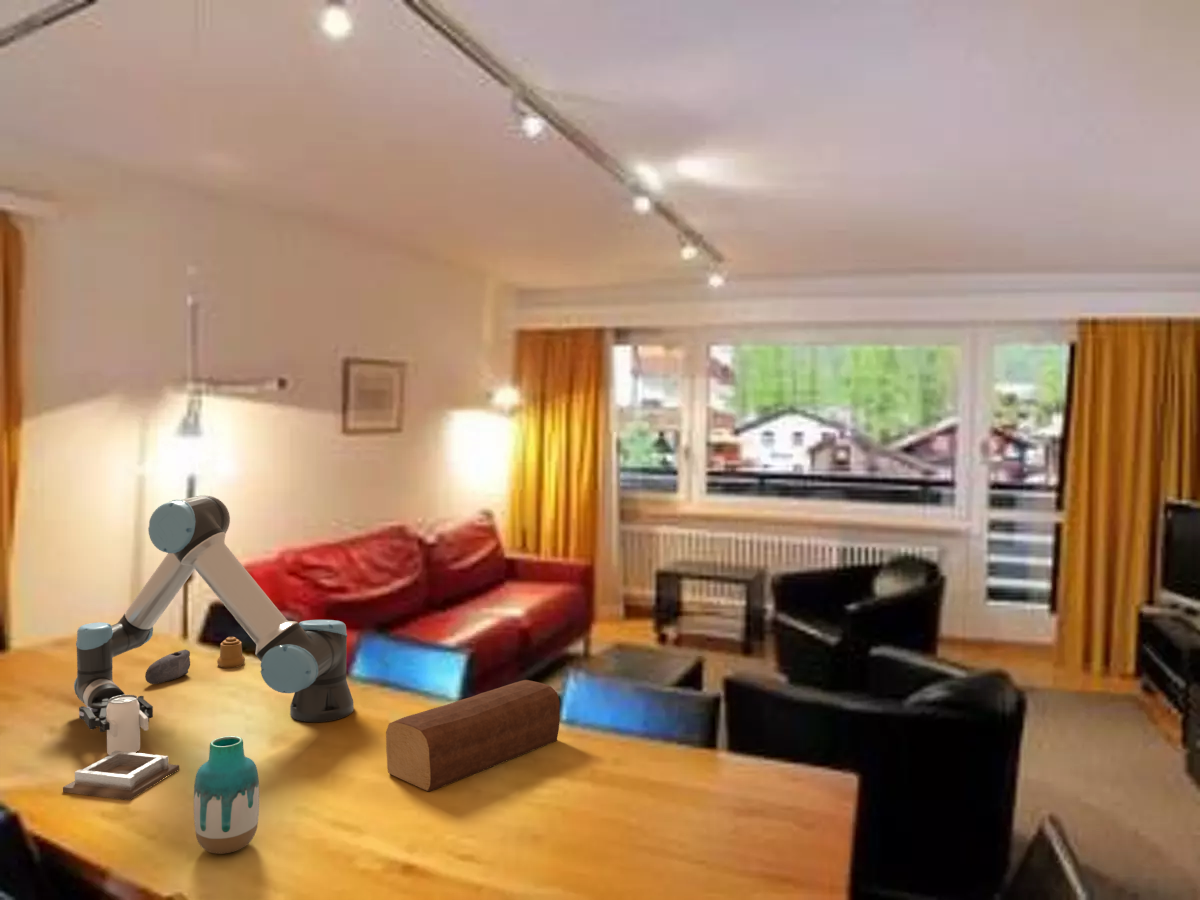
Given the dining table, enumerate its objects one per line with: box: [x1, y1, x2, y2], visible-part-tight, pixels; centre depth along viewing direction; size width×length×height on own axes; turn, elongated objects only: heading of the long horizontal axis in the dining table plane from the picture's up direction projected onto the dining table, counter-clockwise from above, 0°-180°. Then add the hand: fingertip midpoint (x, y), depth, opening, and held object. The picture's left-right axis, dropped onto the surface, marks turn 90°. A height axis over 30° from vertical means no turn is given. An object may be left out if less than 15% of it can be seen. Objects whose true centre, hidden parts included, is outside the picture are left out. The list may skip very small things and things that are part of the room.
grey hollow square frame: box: [74, 751, 169, 791], centre depth 189 cm, size 13×11×2 cm
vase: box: [193, 735, 260, 855], centre depth 161 cm, size 11×11×19 cm
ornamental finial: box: [216, 636, 246, 669], centre depth 269 cm, size 8×8×8 cm
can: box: [106, 694, 141, 756], centre depth 203 cm, size 6×6×12 cm
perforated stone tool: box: [145, 649, 191, 685], centre depth 254 cm, size 15×5×7 cm, turn 157°
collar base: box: [62, 763, 180, 801], centre depth 189 cm, size 15×15×1 cm
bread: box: [385, 679, 561, 793], centre depth 204 cm, size 16×39×13 cm, turn 140°
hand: (131, 727), depth 199 cm, fingers closed on can, 5 cm apart
